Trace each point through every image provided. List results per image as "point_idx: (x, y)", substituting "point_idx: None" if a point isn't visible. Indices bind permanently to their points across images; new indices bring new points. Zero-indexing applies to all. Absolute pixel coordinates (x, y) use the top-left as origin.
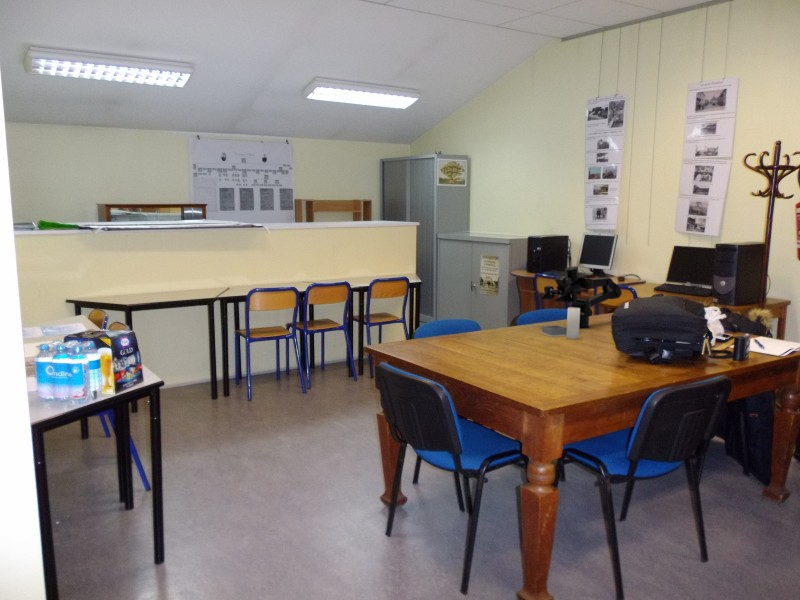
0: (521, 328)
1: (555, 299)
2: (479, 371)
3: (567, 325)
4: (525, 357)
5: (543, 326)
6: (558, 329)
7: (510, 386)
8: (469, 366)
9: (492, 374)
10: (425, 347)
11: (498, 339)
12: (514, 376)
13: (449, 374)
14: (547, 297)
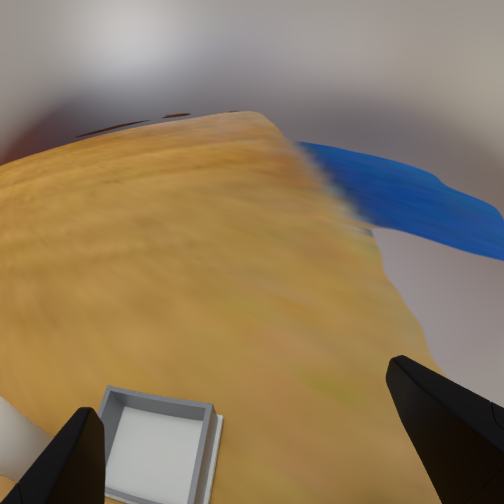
0: None
1: (88, 407)
2: (58, 158)
3: (21, 413)
4: (39, 209)
5: (197, 402)
6: None
7: (10, 169)
8: (80, 153)
9: (40, 164)
10: (212, 135)
11: (205, 225)
12: (17, 176)
13: (78, 141)
14: (450, 485)
